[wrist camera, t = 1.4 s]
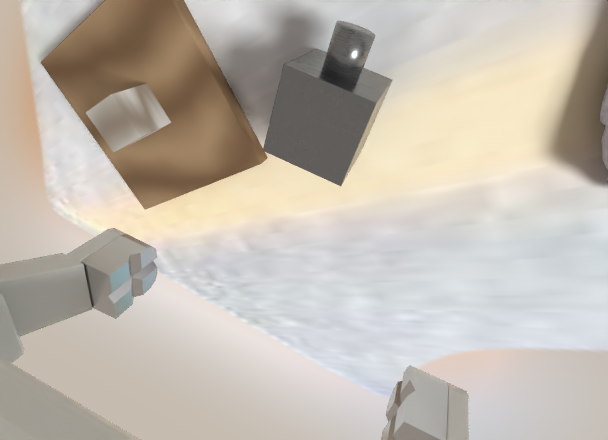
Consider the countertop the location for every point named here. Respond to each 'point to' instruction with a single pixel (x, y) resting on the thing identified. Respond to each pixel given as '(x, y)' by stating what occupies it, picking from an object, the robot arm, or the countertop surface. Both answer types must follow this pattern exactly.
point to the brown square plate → (154, 98)
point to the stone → (607, 119)
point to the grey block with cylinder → (327, 105)
